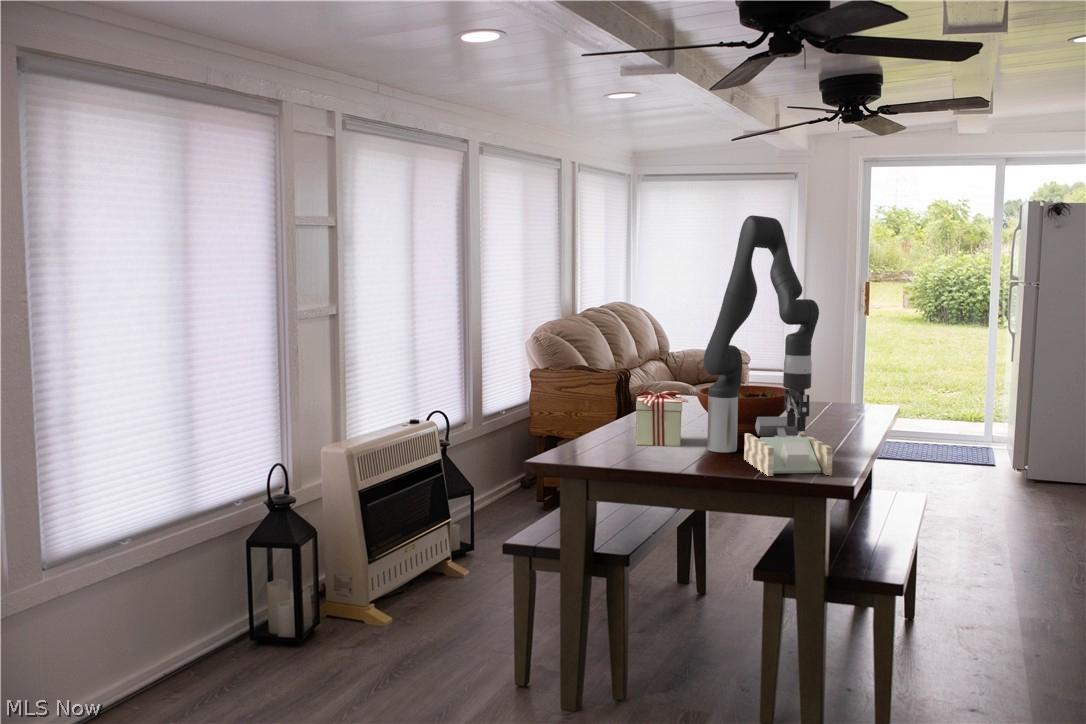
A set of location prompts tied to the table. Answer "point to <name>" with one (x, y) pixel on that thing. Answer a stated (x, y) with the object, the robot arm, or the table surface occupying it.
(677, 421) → the gift box
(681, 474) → the table surface
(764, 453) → the stand
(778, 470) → the trapdoor
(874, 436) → the table surface
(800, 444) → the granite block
